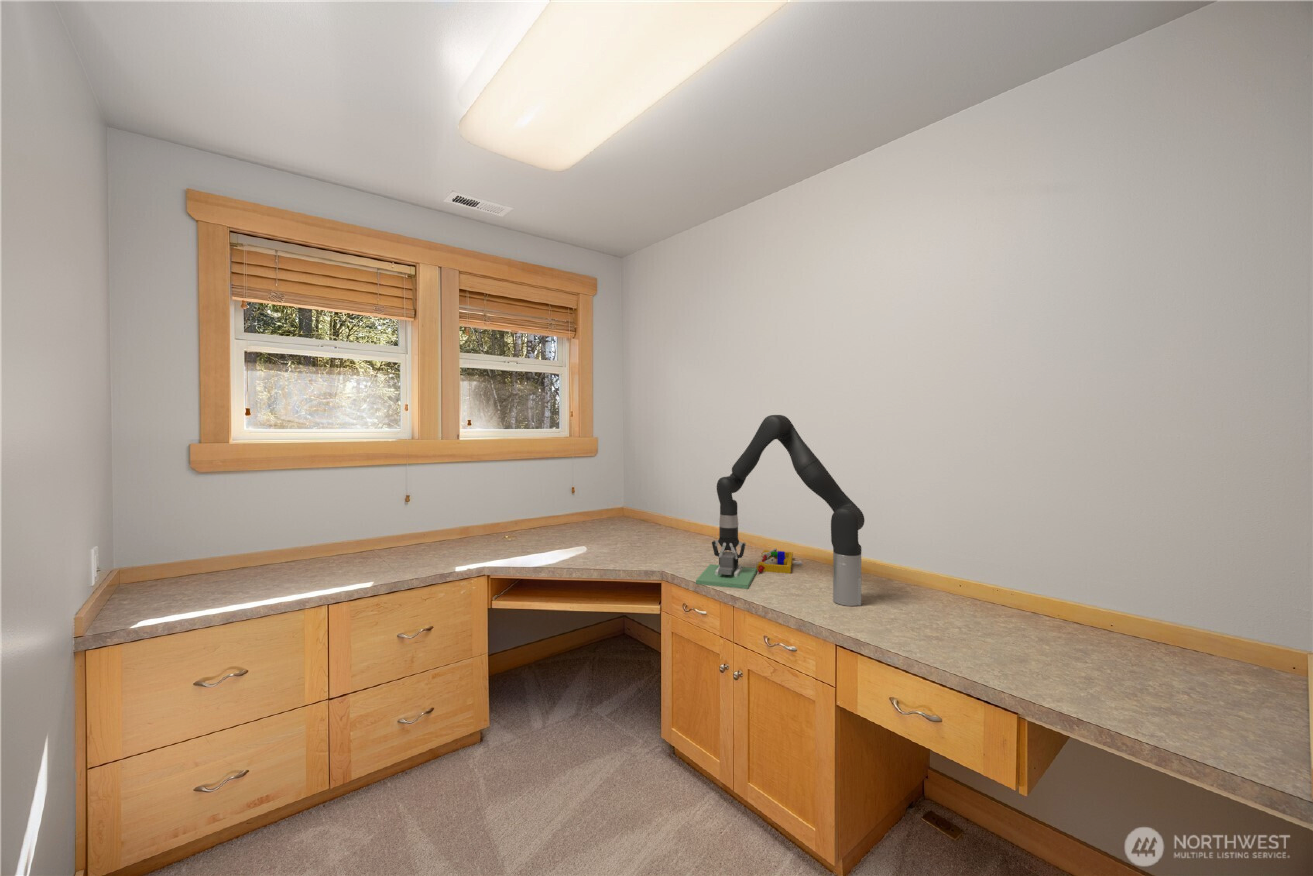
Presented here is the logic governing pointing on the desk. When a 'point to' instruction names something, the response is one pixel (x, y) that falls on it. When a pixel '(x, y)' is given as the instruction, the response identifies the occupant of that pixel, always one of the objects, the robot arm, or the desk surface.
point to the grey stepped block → (726, 563)
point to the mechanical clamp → (782, 561)
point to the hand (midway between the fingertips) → (728, 566)
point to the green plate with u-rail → (727, 577)
